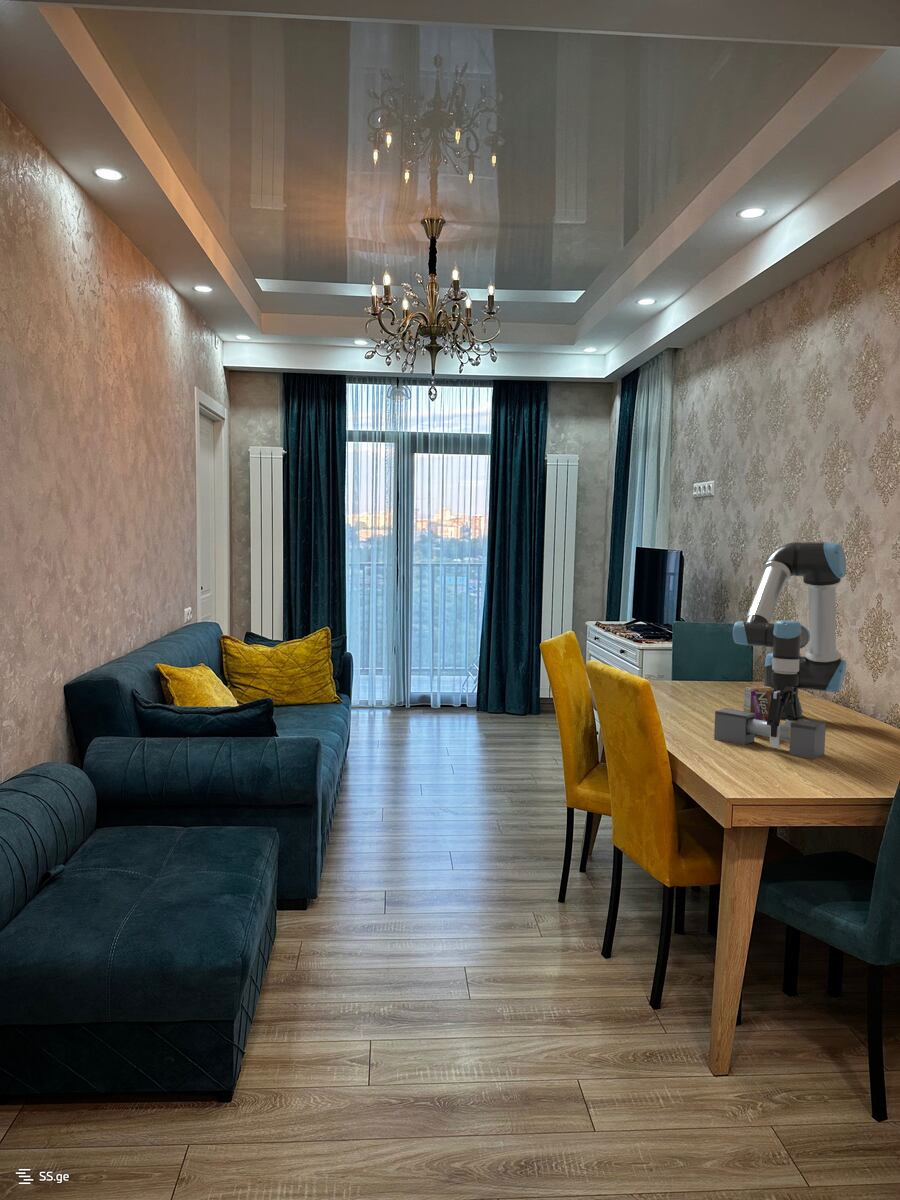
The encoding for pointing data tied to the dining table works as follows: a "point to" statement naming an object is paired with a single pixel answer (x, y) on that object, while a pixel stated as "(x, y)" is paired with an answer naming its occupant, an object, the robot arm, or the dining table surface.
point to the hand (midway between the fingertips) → (781, 744)
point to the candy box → (758, 701)
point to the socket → (807, 738)
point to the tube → (766, 728)
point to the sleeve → (733, 726)
